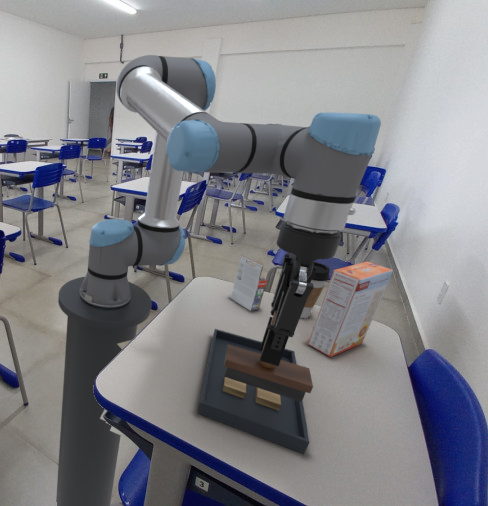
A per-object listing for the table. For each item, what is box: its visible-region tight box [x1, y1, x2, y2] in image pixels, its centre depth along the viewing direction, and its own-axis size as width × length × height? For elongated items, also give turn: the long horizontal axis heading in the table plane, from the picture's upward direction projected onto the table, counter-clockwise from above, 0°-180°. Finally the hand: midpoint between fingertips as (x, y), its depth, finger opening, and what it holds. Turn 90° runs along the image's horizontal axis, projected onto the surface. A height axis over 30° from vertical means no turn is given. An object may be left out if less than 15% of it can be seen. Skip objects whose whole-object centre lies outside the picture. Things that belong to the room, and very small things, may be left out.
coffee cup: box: [300, 261, 331, 319], centre depth 100 cm, size 8×8×15 cm
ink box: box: [230, 254, 268, 312], centre depth 103 cm, size 4×8×15 cm, turn 21°
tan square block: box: [222, 377, 246, 398], centre depth 71 cm, size 4×4×2 cm
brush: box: [224, 310, 314, 402], centre depth 60 cm, size 5×13×14 cm, turn 63°
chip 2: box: [255, 387, 281, 411], centre depth 69 cm, size 4×4×2 cm
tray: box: [197, 328, 310, 455], centre depth 73 cm, size 27×17×3 cm, turn 153°
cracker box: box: [307, 261, 394, 358], centre depth 85 cm, size 14×6×21 cm, turn 115°
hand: (269, 356), depth 60 cm, fingers closed on brush, 3 cm apart
